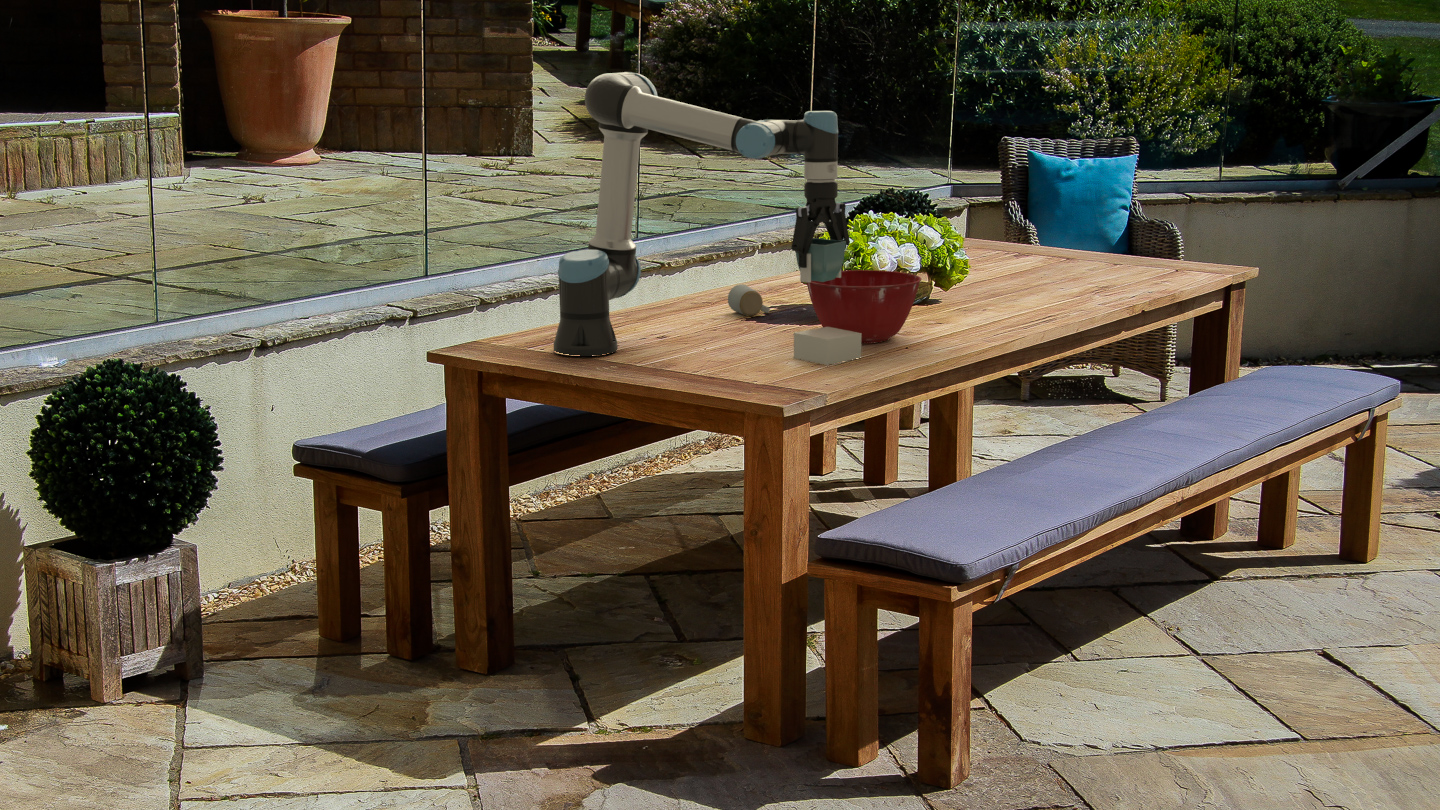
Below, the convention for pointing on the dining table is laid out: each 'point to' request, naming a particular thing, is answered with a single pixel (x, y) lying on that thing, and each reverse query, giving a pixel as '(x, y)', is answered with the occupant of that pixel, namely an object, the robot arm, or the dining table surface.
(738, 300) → the ceramic mug
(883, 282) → the mixing bowl
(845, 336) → the stone block
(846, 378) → the dining table surface
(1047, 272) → the dining table surface
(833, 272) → the flower pot
